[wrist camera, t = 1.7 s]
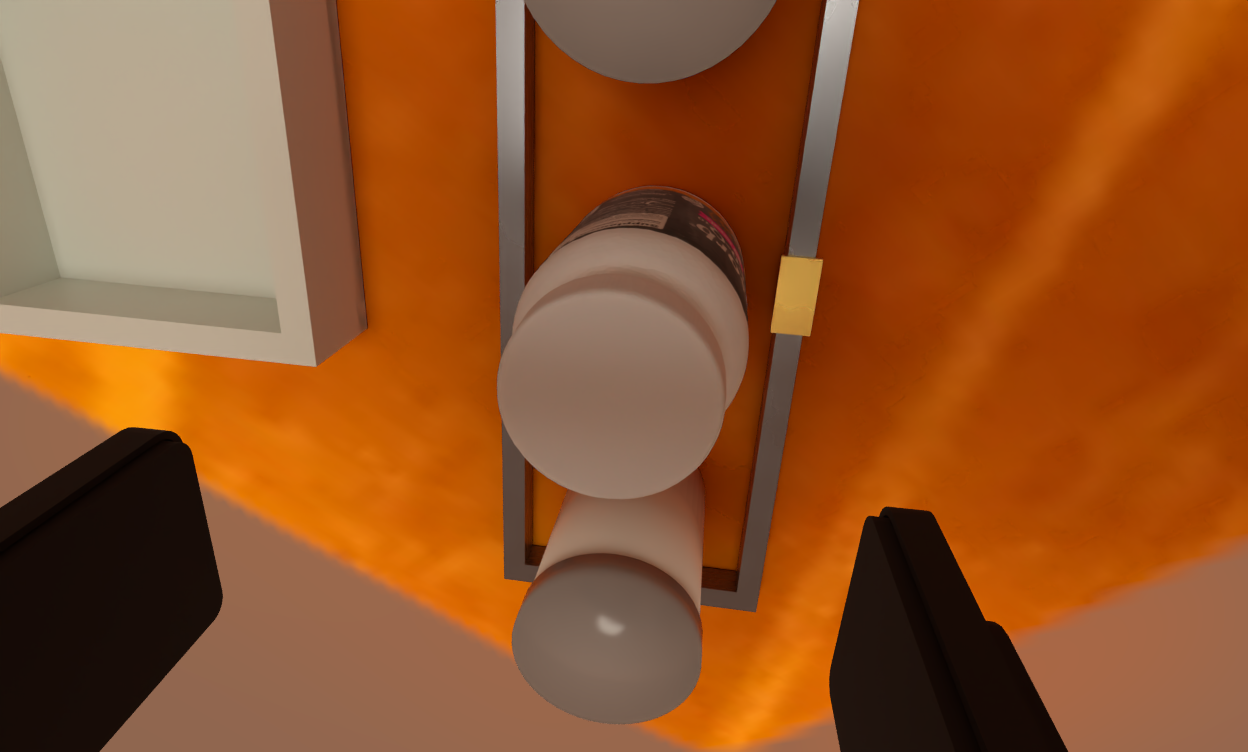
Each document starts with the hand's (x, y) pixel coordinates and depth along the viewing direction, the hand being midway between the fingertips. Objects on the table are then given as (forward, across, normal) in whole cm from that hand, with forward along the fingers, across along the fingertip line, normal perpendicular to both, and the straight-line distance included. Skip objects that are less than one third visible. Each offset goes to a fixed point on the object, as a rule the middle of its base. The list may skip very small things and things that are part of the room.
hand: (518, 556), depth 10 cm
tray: (+15, +15, -3) cm, 22 cm away
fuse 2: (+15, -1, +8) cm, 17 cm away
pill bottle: (+15, -1, 0) cm, 15 cm away
